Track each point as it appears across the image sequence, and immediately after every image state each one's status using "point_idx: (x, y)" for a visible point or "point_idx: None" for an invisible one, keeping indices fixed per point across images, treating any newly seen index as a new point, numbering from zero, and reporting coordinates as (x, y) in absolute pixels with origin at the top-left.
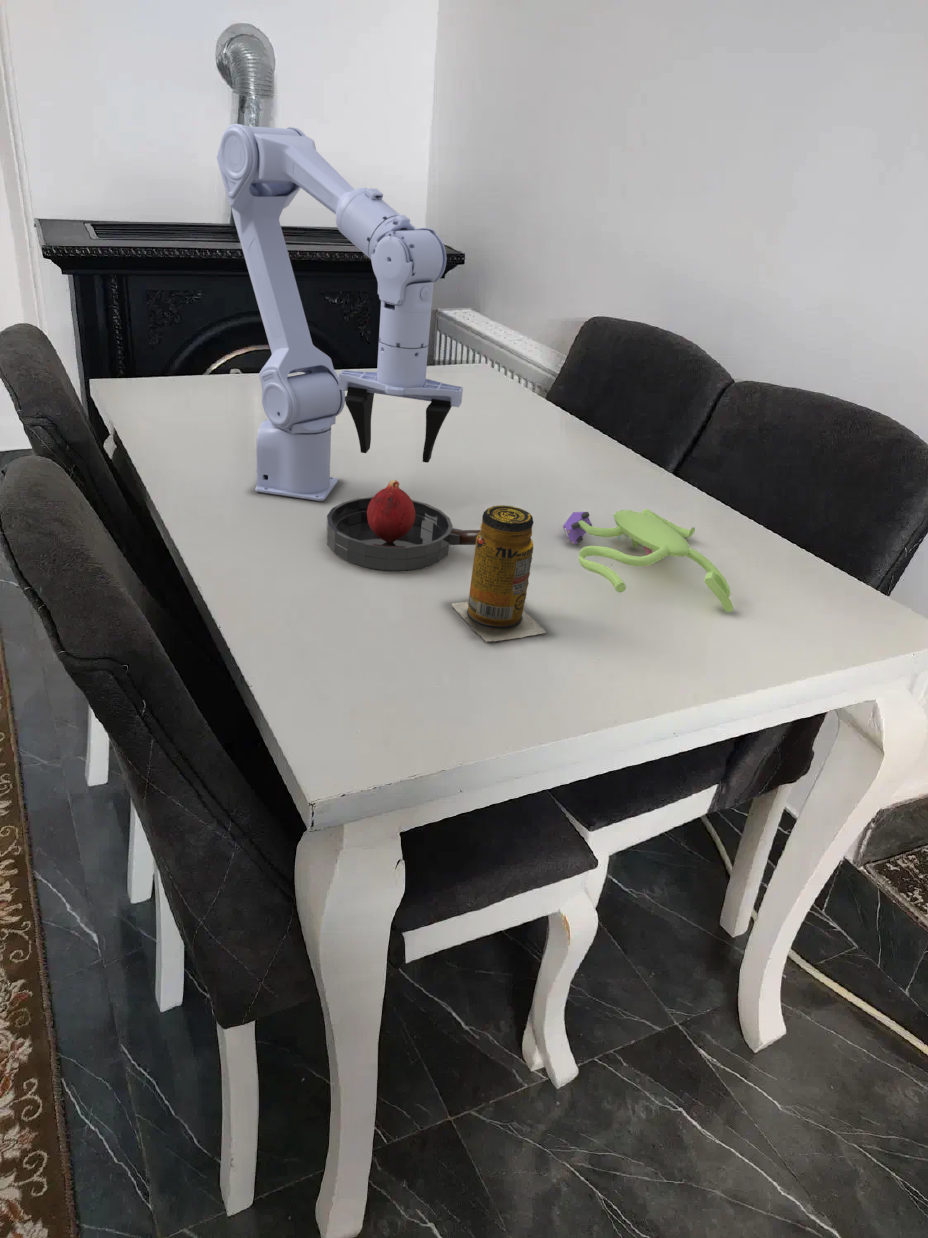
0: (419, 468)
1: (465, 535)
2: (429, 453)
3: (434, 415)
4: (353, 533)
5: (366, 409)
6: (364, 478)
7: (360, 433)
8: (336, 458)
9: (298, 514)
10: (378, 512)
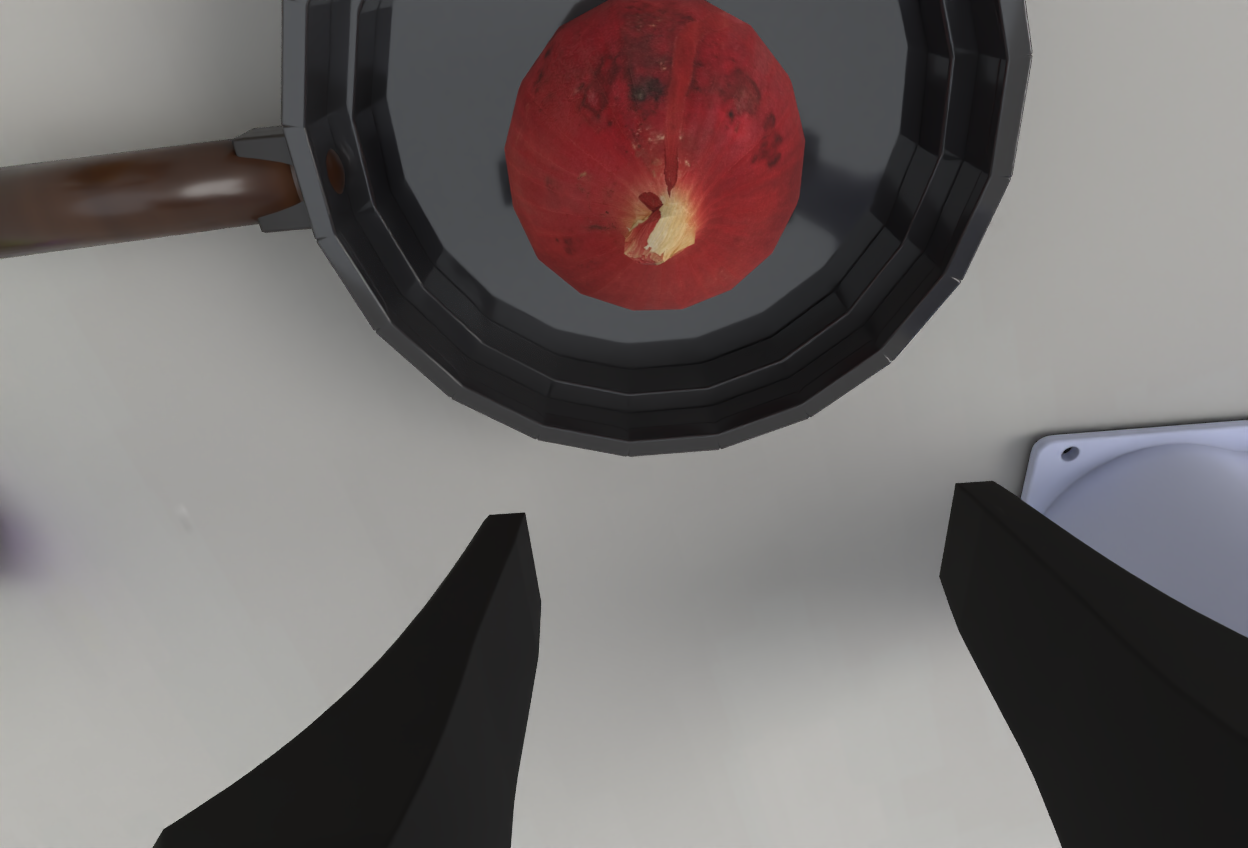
0: (724, 802)
1: (203, 155)
2: (462, 556)
3: (279, 838)
4: (844, 150)
5: (1176, 789)
6: (897, 678)
7: (1087, 563)
8: (1022, 771)
9: (1134, 281)
10: (710, 23)
